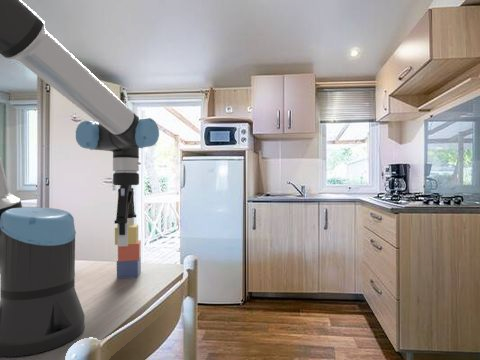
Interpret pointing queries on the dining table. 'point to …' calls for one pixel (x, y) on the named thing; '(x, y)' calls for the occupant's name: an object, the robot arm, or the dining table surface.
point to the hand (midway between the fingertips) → (126, 241)
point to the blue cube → (128, 268)
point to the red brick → (129, 252)
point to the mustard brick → (129, 234)
